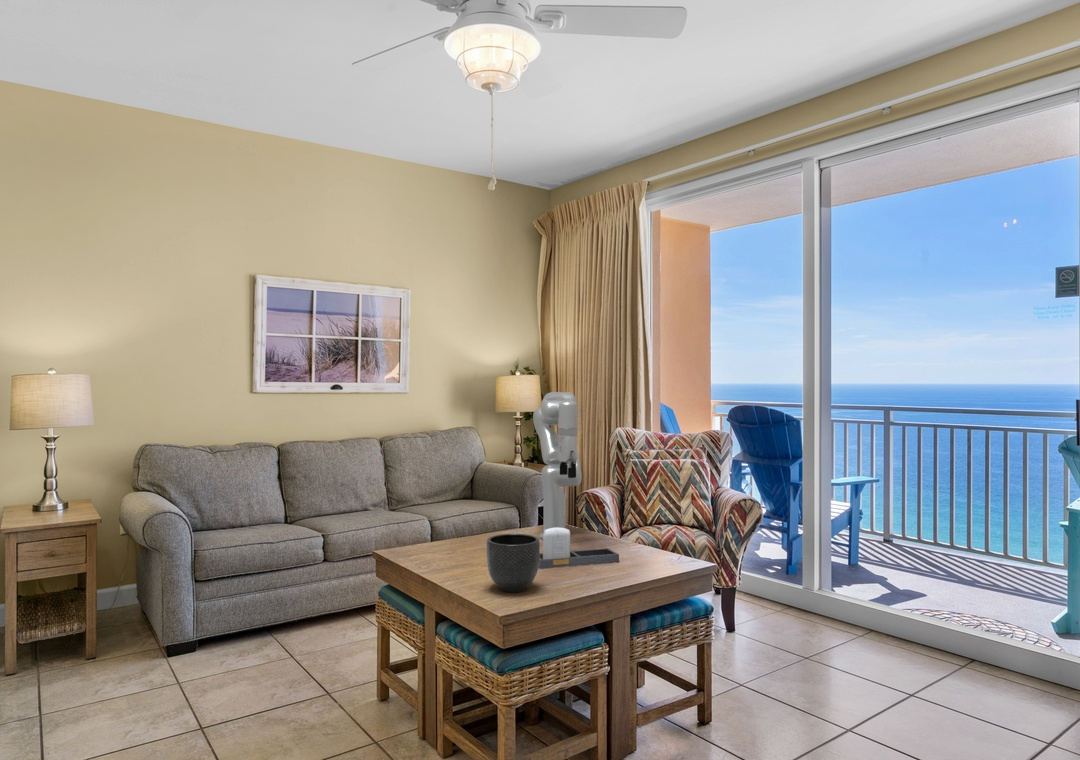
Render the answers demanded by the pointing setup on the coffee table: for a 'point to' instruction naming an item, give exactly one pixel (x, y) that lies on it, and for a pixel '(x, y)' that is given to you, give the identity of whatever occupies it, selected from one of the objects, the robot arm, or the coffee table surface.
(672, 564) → the coffee table surface
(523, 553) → the planter
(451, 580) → the coffee table surface
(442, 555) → the coffee table surface
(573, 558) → the divided tray
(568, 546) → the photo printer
